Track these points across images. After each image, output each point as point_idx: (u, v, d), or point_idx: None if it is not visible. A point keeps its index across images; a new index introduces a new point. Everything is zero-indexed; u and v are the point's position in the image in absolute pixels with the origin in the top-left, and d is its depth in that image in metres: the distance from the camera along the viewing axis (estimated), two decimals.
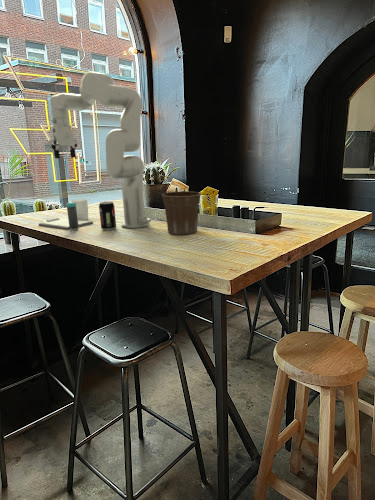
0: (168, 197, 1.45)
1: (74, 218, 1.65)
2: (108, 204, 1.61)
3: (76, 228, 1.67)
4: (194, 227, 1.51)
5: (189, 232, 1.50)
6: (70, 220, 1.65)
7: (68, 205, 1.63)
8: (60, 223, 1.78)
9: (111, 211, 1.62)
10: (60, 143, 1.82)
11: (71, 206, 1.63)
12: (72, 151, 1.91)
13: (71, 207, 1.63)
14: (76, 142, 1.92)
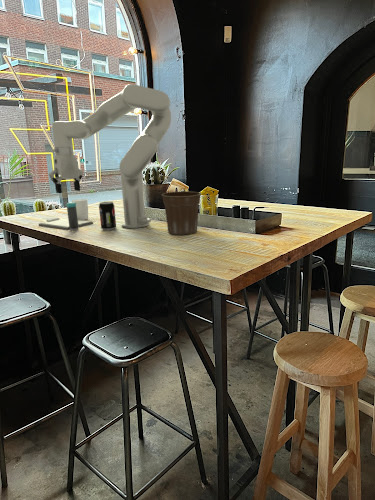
0: (168, 197, 1.45)
1: (74, 218, 1.65)
2: (108, 204, 1.61)
3: (76, 228, 1.67)
4: (194, 227, 1.51)
5: (189, 232, 1.50)
6: (70, 220, 1.65)
7: (68, 205, 1.63)
8: (60, 223, 1.78)
9: (111, 211, 1.62)
10: (63, 176, 1.57)
11: (71, 206, 1.63)
12: (76, 184, 1.66)
13: (71, 207, 1.63)
14: (81, 173, 1.67)
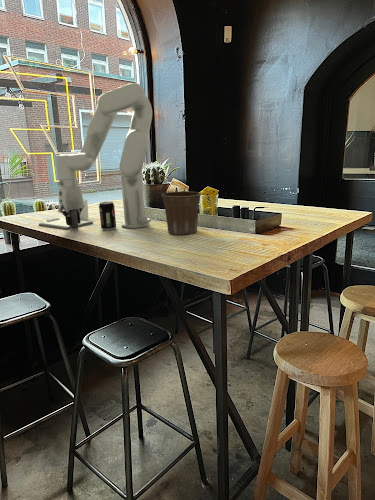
0: (168, 197, 1.45)
1: (74, 218, 1.65)
2: (108, 204, 1.61)
3: (76, 228, 1.67)
4: (194, 227, 1.51)
5: (189, 232, 1.50)
6: None
7: None
8: (60, 223, 1.78)
9: (111, 211, 1.62)
10: (67, 207, 1.60)
11: None
12: None
13: None
14: (82, 207, 1.70)
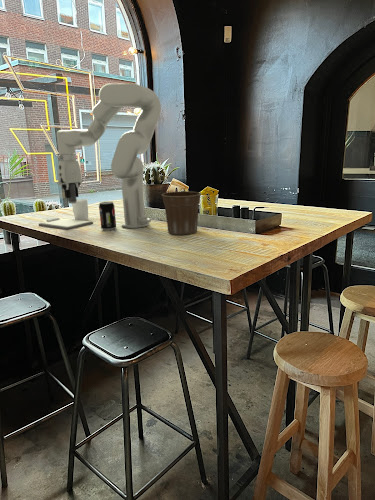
0: (168, 197, 1.45)
1: (72, 192, 1.75)
2: (108, 204, 1.61)
3: (74, 201, 1.77)
4: (194, 227, 1.51)
5: (189, 232, 1.50)
6: None
7: None
8: (60, 223, 1.78)
9: (111, 211, 1.62)
10: (66, 181, 1.70)
11: None
12: None
13: None
14: (80, 181, 1.79)
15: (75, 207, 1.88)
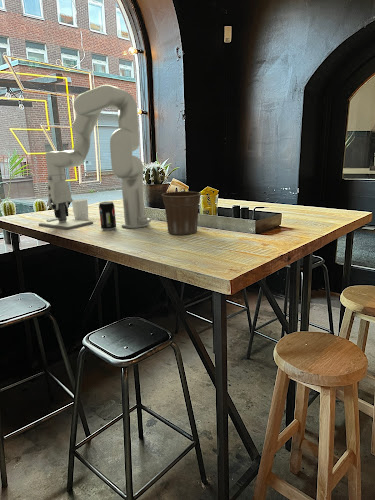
0: (168, 197, 1.45)
1: (62, 211, 1.77)
2: (108, 204, 1.61)
3: (64, 220, 1.78)
4: (194, 227, 1.51)
5: (189, 232, 1.50)
6: None
7: None
8: (60, 223, 1.78)
9: (111, 211, 1.62)
10: (56, 201, 1.72)
11: None
12: None
13: None
14: (70, 201, 1.81)
15: (75, 207, 1.88)
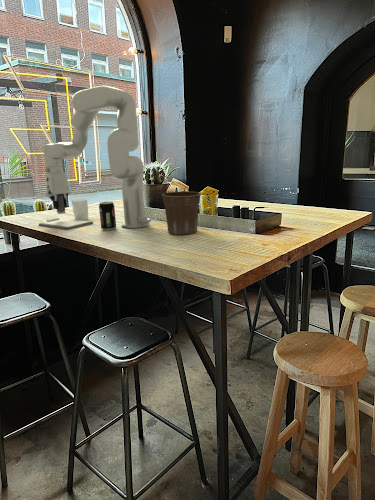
0: (168, 197, 1.45)
1: (60, 202, 1.81)
2: (108, 204, 1.61)
3: (63, 211, 1.83)
4: (194, 227, 1.51)
5: (189, 232, 1.50)
6: None
7: None
8: (60, 223, 1.78)
9: (111, 211, 1.62)
10: (54, 192, 1.77)
11: None
12: None
13: None
14: (68, 192, 1.86)
15: (75, 207, 1.88)
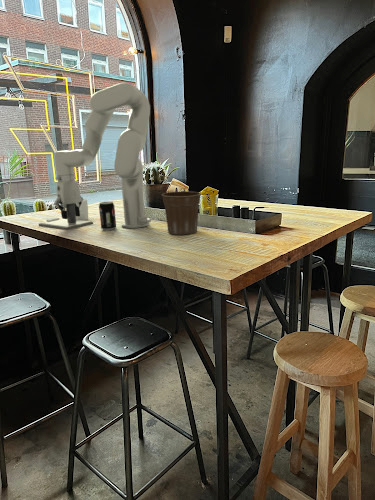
0: (168, 197, 1.45)
1: (72, 213, 1.71)
2: (108, 204, 1.61)
3: (74, 222, 1.73)
4: (194, 227, 1.51)
5: (189, 232, 1.50)
6: (68, 215, 1.71)
7: None
8: (60, 223, 1.78)
9: (111, 211, 1.62)
10: (65, 202, 1.67)
11: None
12: (76, 210, 1.75)
13: None
14: (81, 200, 1.76)
15: None
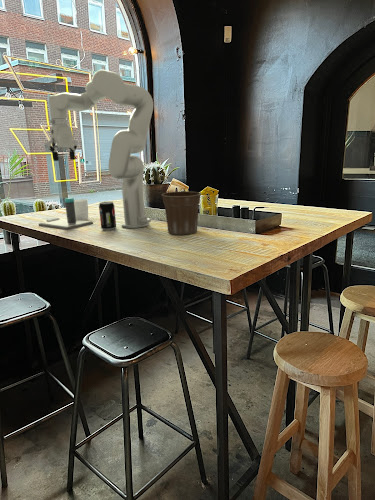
0: (168, 197, 1.45)
1: (72, 213, 1.71)
2: (108, 204, 1.61)
3: (74, 222, 1.73)
4: (194, 227, 1.51)
5: (189, 232, 1.50)
6: (68, 215, 1.71)
7: (66, 200, 1.70)
8: (60, 223, 1.78)
9: (111, 211, 1.62)
10: (59, 145, 1.74)
11: (69, 201, 1.70)
12: (71, 153, 1.83)
13: (69, 202, 1.70)
14: (76, 144, 1.84)
15: (75, 207, 1.88)
